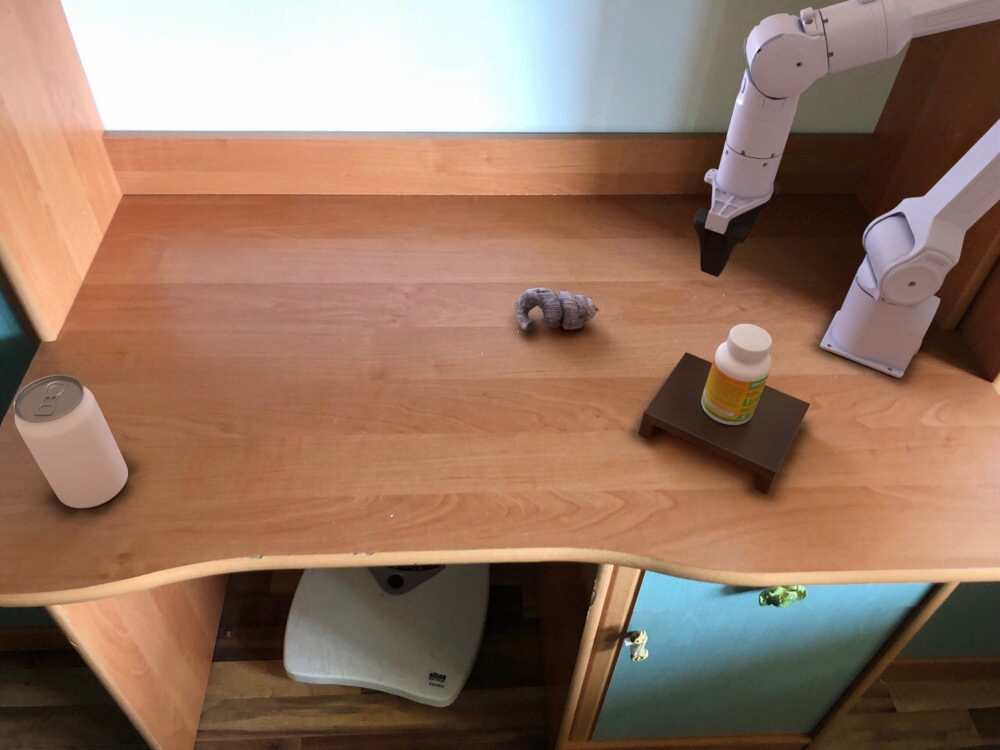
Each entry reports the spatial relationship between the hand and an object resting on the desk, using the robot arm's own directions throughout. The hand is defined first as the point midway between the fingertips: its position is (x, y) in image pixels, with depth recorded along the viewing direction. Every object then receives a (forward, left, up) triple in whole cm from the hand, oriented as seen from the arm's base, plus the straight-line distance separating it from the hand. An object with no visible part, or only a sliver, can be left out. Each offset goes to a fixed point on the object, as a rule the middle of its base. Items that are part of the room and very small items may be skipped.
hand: (723, 255), depth 89 cm
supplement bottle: (-8, +15, -7) cm, 18 cm away
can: (+40, +56, -11) cm, 70 cm away
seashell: (+15, +10, -11) cm, 21 cm away
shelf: (-8, +15, -10) cm, 20 cm away
